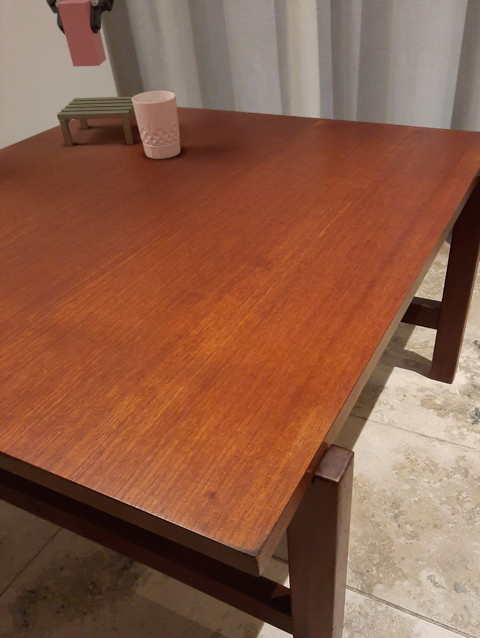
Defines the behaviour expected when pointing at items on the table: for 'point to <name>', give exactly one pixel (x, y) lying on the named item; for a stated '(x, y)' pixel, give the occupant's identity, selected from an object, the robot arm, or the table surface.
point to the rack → (97, 114)
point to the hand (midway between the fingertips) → (79, 30)
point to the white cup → (158, 123)
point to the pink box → (81, 33)
